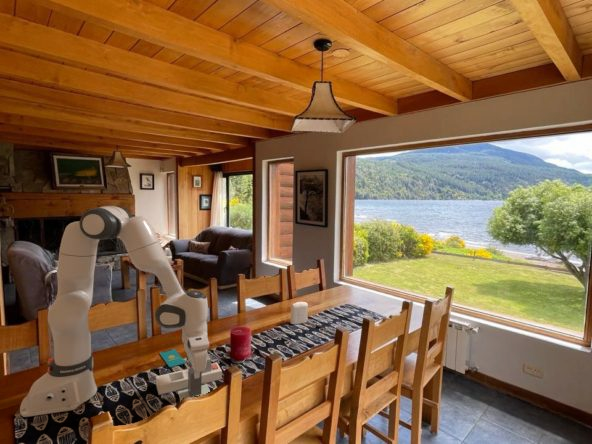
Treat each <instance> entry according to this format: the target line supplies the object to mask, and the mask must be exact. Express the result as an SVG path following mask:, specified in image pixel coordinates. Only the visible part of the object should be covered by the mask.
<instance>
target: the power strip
mask: <svg viewBox="0 0 592 444" xmlns="http://www.w3.org/2000/svg"><path fill="white" fill-rule="evenodd" d="M188 369H189V368H187V369H182V370H179V371H174V372H169V373H166V374H165V373H164V374H161V375H156V376H155V387H156V390H157V393H158V395H159V396H160V395H164V394H167V393H168V394H169V393H172V392H177V391H181V390H185V389H188ZM222 379H223V370H222V368H221V367H220V365H219V364H218V362H214V363H212V358H211V356H210V355H209V354H207V363H206V368H205V370H204V371H202V383H201V385H205V384H207V383H211V382H214V381H218V380H222Z"/></svg>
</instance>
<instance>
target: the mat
mask: <svg viewBox="0 0 592 444" xmlns="http://www.w3.org/2000/svg"><path fill="white" fill-rule="evenodd" d="M210 391H211V390H210V387H209V385H208V384H207V383H204V384H201V394H206V393H208V392H210ZM201 394H200V395H201ZM177 395H178V397H179V401H180V402H181V400H182V399H183V398H185V397H190V395H189V392H188V388H184V389H181V390H177ZM197 396H199V395H197ZM193 397H194V396H193Z"/></svg>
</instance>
